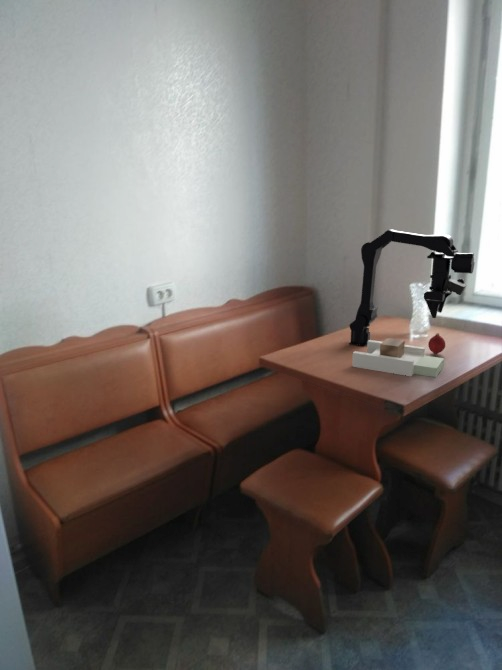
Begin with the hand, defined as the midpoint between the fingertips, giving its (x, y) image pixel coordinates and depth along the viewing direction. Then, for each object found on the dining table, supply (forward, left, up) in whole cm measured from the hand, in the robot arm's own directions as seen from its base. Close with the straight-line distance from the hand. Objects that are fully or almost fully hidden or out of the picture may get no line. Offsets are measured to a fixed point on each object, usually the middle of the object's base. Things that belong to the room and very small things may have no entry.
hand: (437, 315), depth 178 cm
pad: (+2, -18, -15) cm, 23 cm away
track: (-11, -18, -15) cm, 26 cm away
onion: (+1, 0, -15) cm, 15 cm away
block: (-10, -18, -12) cm, 24 cm away
